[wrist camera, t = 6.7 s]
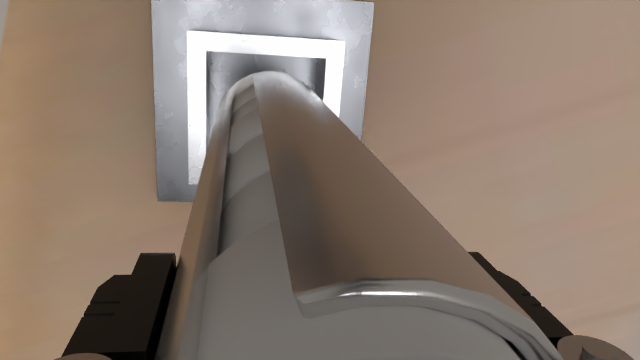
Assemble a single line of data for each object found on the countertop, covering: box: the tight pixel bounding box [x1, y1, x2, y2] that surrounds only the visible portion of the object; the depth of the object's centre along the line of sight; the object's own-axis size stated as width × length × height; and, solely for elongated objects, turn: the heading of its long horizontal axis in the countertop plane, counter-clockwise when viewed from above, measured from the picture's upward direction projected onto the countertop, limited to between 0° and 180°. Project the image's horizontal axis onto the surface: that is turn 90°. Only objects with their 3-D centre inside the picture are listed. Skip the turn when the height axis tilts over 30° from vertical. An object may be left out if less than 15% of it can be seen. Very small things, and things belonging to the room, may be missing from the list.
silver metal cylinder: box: [153, 71, 564, 360], centre depth 18 cm, size 6×6×25 cm
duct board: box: [151, 0, 374, 202], centre depth 36 cm, size 16×16×5 cm
